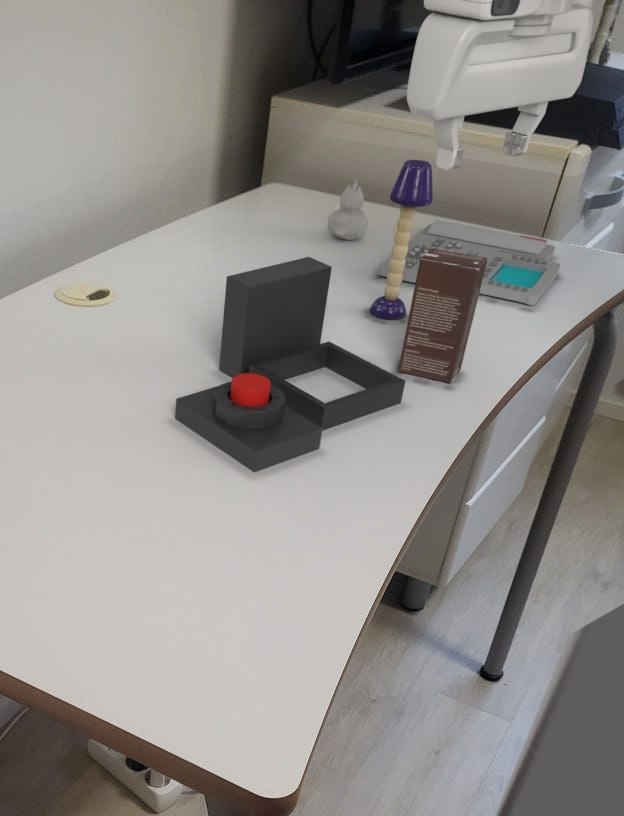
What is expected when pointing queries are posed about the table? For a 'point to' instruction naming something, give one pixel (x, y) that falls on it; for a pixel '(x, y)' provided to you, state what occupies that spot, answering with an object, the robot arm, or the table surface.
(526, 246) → the office telephone
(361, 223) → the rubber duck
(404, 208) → the toy lamp
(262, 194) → the table surface
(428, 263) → the box
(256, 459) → the block
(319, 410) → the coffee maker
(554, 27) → the robot arm
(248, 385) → the power button
